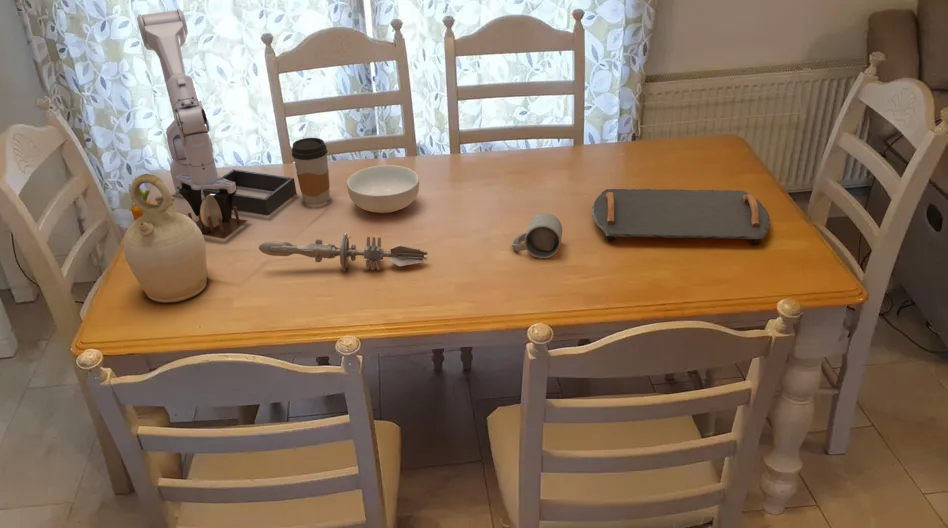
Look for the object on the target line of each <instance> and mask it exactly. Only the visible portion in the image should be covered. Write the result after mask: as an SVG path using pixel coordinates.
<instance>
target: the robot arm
mask: <svg viewBox="0 0 948 528" xmlns="http://www.w3.org/2000/svg"><path fill="white" fill-rule="evenodd" d="M136 21H137V26H138V29H139V33H140V36H141V40H142V42H143V43H142V44H143V46H144V47H145V49H146V51H153V52H155V54H156V55H157V57H158V59H159V63H160V67H161V71H162V74H163V78H164V83H165V87H166V90H167V94H168V99H169V103H170V107H171V110H172V111H171V112H172V113H173V121H172V122H171V123H170V124H169V125H168V126H167V128H166V129H165V130H166V131H165V134H166V142H167V145H168V150H169V152H170V157H171V159H172V160H171V162H170V170H169V171H170V176H171V180H172V184H173V188H174V193H173V195H177V194H178V193H179V194H180V196H182V197H183V198H184V199H185V200H186V202H187V204H189V206H190V208H191V210H192V211H193V213H194V215H195V217H196V218H198V215H199V214H200V208H201V204H202V202H203V199H202V198H203V197H202V195H204V193H203V190H204V189H215V190H219V192H218V193H217V194H215V195H214V198H215V200H216V201H217V203H218V205H219V207H220V210H221V214H222V218H223V220H224V221H228V220H229V219H231V218H233V217H232V214H233V213H232V212H233V210H232V204H233V199H234V196H235V194H237V191H238V190H237V189H238V188H237V186H236V184H235V182H232V181H229V180H226V179H224V178H222V177H223V176H220V175H218V170H217V165H216V161H215V157H214V147H213V142H212V139H211V135H210V122H209V118H208V114H207V111H206V109H205V107H204V104H203V102H202V100H200V97H199V93H198V91H197V87H196V83H195V80H194V78H193V77H192V76H190V75H188V74H187V73H186V68H185V63H184V58H183V53H182V47H183V46H184V45H187V43H188V39H189V30H188V26H187V22H186V21H187V20H186V18H185V14H184V12H183V11H182V10H181V9H176V10H169V11H161V12H153V13H146V14H141V13H140V14H138V15H137V16H136Z"/></svg>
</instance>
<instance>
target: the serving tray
mask: <svg viewBox="0 0 948 528" xmlns="http://www.w3.org/2000/svg"><path fill="white" fill-rule="evenodd" d="M591 209H592V211H591V212H592V218H593V221H594V222H595V224H596V225H597V227H598V228H599V229H600V230H601V232H603V234H604V235H605V239H606V241H607V242H608V243H614V241H615V240H616V238H617V237H618V238H620V237H623V238H624V237H625V238H670V239H671V238H672V239H674V238H679V239H680V238H681V239H726V240H727V239H729V240H730V239H731V240H733V239H734V240H735V239H737V240H750V242H751V245H753V246H759V245H760V244H761V242H762V240H763V239H764V238H766V236H767V235H768V233H769V230H770V227H771V223H770V215H769V213H768V210H767V209H766V207H765V206H764V205H763V204H762V202H760V200H758V199H757V198H756V197H755V195H754V193H749V192H747V191H744V190H729V189H724V190H723V189H720V190H718V189H680V188H679V189H677V188H675V189H673V188H672V189H668V188H667V189H663V188H662V189H656V188H654V189H650V188H637V189H636V188H631V189H629V188H608V189H604V190H603V191H602V192H601V193H600V194H599V195H598V196H597V198H596V199H595V200H594V203H593V205H592V206H591Z"/></svg>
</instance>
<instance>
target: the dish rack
mask: <svg viewBox="0 0 948 528" xmlns="http://www.w3.org/2000/svg"><path fill="white" fill-rule="evenodd" d="M233 213H234V216H235V217H231V219H229V220H228V221H224V220H223V219H222V220H221V218H218V221H219V225H218V226H216V227H214V228H213V224H212V220H211V216H208V221H209V226H210V227H207V226H205V225H204V224H203V222H202V220H201V216H200V214H199V215H198V217H197V218H198V220H197V221H196V222H195V224H196V225H197V226H198V227H199V229H200V231H201V233H202V235H203V236H207V237H212V238H218V239H222V240H223V239H224V240H225V239H226V238H227V237H229V236H230V235H231V234H233V233H234V232H235V231H237V230H238V229H239V228H240V227H242V226H243V225H245V223H247V222H248V219H241V218H240V217H239V210H237V207H236V206H234V210H233ZM187 216H188V217H189V218H191V219H192V220H193V217H192V213H191V212H188V213H187Z"/></svg>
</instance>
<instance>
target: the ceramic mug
mask: <svg viewBox="0 0 948 528" xmlns="http://www.w3.org/2000/svg"><path fill="white" fill-rule="evenodd" d="M562 236H563V226H562V222H561V221H560V219H559V218H558V217H557V216H555V215H554V214H552V213H547V212H543V213H540V214H539V213H538V214H537V215H536V216H534V217H533V218H532V220H531V221H530V222H529V224H528V228H527V230H526V232H524V233H521V234H520V235H518V236H517V237H515V238H514V239H513V240H512V243H511V246H512V248H513V250H514V251H515V252H523V251H527V252H528V254H530V255H531V256H533V257H535V258H536V259H537V258H538V259H549V258H552V257H554V256H555V255H556V254H557V253H558V252H559V250H560V248H561V243H562ZM522 242H523V243H522Z"/></svg>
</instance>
